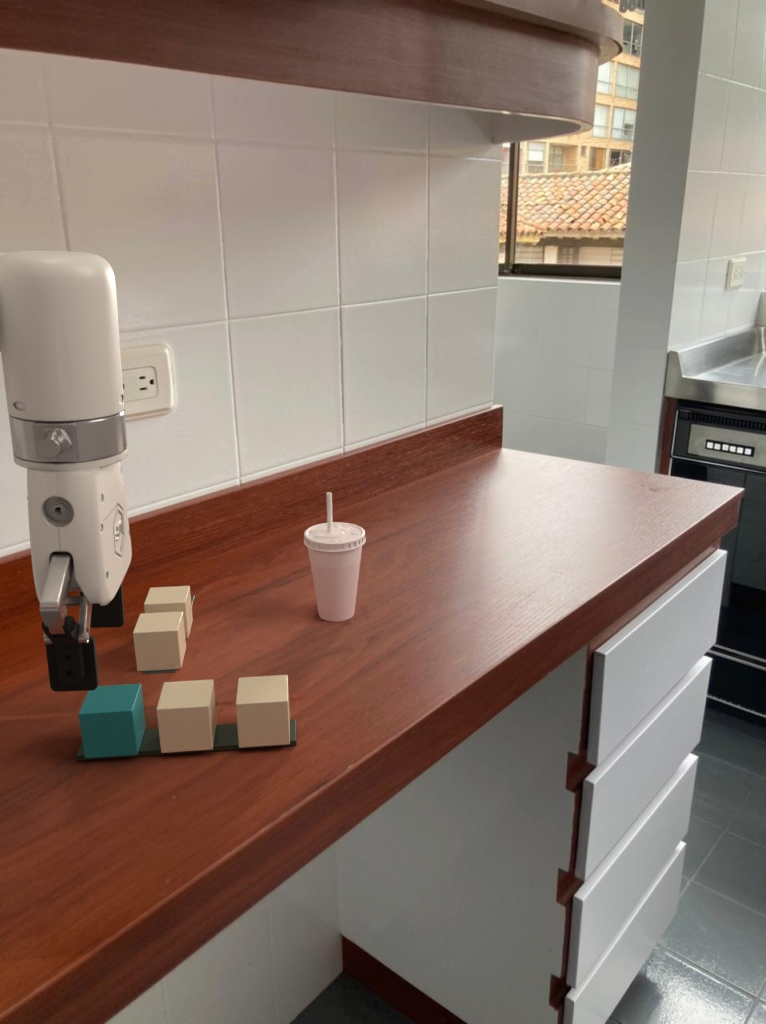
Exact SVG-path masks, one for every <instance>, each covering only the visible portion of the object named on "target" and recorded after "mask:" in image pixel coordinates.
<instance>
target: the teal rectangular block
mask: <svg viewBox="0 0 766 1024" xmlns="http://www.w3.org/2000/svg"><path fill="white" fill-rule="evenodd" d="M142 689H143V688H142V683H126V684H111V685H109V684H108V685H98V686H97V688H96V689H95V690H92V691H87V693H86V695H85V697H84V700H83V702H82V705H81V707H80V710H79V711H78V714H77V715H78V723H79V729H80V735H81V744H82V743H83V749H84V756H85V758H98V757H113V756H127V755H137V754H138V751H139V748H140V744H141V741H142V737H143V734H144V730H145V729H146V726H147V723H146V715H145V706H144V697H143V690H142Z"/></svg>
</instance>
